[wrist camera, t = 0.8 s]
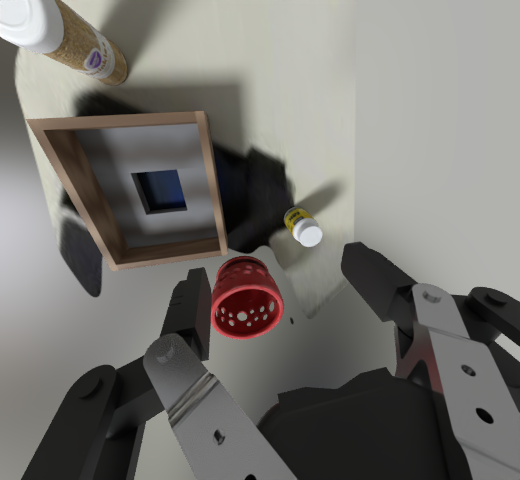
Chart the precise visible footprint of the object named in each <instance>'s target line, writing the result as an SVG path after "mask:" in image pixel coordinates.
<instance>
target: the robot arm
mask: <svg viewBox="0 0 520 480" xmlns="http://www.w3.org/2000/svg"><path fill="white" fill-rule="evenodd" d="M341 270H342V273H343V275H344V276H345V277H346V278H347V280H348V281H349V282H350V283H351V284H352V286H353V287H354V288H355V289H356V290H357V292H358V293H359V294H360V295H361V296H362V298H363V299H364V300H365V301H366V303H367V304H368V305H369V306H370V307H371V309H372V310H373V311H374V312H375V313H376V315H377V316H378V317H379V318H380V319H381V321H382V322H386V321H391V320H393V321H394V322H395V326H394V336H395V347H396V361H397V365H396V371H395V376H392V375H391V374H390V372H389V371H388V369H387V368H386V367H384V368H380V369H376V370H372V371H368V372H364V373H360V374H359V375H358V376H356V377H355V378H353V379H352V380H350V381H349V382H347V383H346V384H345V385H343V386H342V387H340V388H338V389H324V388H310V387H305V388H300V389H296V390H292V391H288V392H284V393H280V394H277V398H278V403H277V404H275V405H274V406H273V407H271V408H270V409H269V410H268V411H267V412H266V413H265V414H264V415H263V416H262V417H261V419H260V420H259V422H258V423H257V425H256V426H255V425H254V424H253V423H252V421H251V420H250V419H249V418H248V416H247V415H246V414H245V413H244V411H243V410H242V409H241V407H240V406H239V405H238V404H237V403H236V401H235V400H234V399H233V398H232V396H231V395H230V394H229V393H228V391H227V390H226V389H225V387H224V386H223V385H222V384H221V382H220V381H219V380H218V379H217V378H216V376H215V375H213V374H211V373H210V372H209V371H208V370H207V369H206V367H205V366H204V365H203V364H202V362H201V361H205V360H209V359H208V358H209V342H210V324H211V306H212V293H211V288H210V284H209V281H208V278H207V274H206V271H205V268H204V267H202V268H196V269H191V270H189V272H188V276H187V280H184V281H180V282H179V283H178V284H177V286H176V287H175V288H174V290H173V293H172V297H171V300H170V303H169V307H168V310H167V314H166V317H165V320H164V324H163V327H162V331H161V334H160V337H159V338H158V339H157V340H155V341H154V342H153V343H152V344H151V345H150V346H149V348H148V349H147V351H146V353H145V355H143V356H142V357H140V358H138V359H137V360H135V361H133V362H131V363H129V364H127V365H125V366H123V367H121V368H119V369H117V370H115V368H114V367H113V366H111V365H101V366H98V367H96V368H93V369H92V370H90V371H88V372H87V373H85V374H84V375H83V376H81V377H80V378H79V379H78V380H77V381H76V382H75V383H74V384H73V386H72V387H71V388H70V389H69V391H68V392H67V394H66V396H65V398H64V400H63V402H62V403H61V405H60V407H59V409H58V411H57V413H56V415H55V416H54V419H53V420H52V422H51V424H50V426H49V428H48V430H47V432H46V433H45V435H44V437H43V439H42V441H41V443H40V445H39V446H38V448H37V450H36V452H35V454H34V456H33V458H32V460H31V462H30V463H29V465H28V467H27V469H26V471H25V473H24V475H23V477H22V479H21V480H134V476H135V472H136V467H137V462H138V457H139V452H140V447H141V443H142V438H143V433H144V429H145V424H146V421H148V420H149V419H151V418H152V417H154V416H155V415H157V414H158V413H160V412H162V411H163V410H166V412H167V414H168V416H169V419H168V420H169V423H170V425H171V428H172V430H173V432H174V434H175V436H176V438H177V440H178V442H179V444H180V446H181V448H182V451H183V453H184V454H185V457H186V459H187V460H188V463H189V465H190V467H191V469H192V471H193V473H194V475H195V477H196V479H197V480H520V414H519V413H520V362H519V361H518V360H517V359H515V358H514V357H513V356H512V355H510V354H509V353H508V352H507V351H506V350H504V349H503V348H502V347H501V346H499V345H498V344H497V343H496V342H495V341H494V340H495V339H496V338H497V337H498V336H499V335H500V334H501V333H503V334H504V335H505V336H507V337H508V338H509V339H511V340H512V341H513V342H514V343H516V344H517V345H518V346H520V302H519V301H517V300H515V299H513V298H512V297H510V296H509V295H507V294H505V293H503V292H500V291H498V290H495V289H491V288H487V287H475V288H473V289H472V290H471V292H470V293H469V294H468V296H462V295H450V294H449V293H447V292H446V291H444V290H443V289H441V288H439V287H436V286H434V285H430V284H424V283H417V282H416V281H415V280H413V279H412V278H411V277H410V276H408V275H407V274H406V273H404V272H403V271H402V270H401V269H399V268H398V267H397V266H396V265H394V264H393V263H392V262H391V261H389V260H387V258H386V257H384V256H383V255H382V254H381V253H379V252H377V251H374V250H372V249H369V248H368V247H367V246H365V245H364V244H363V243H361V242H354V243H348V244H346V245H345V246H344V251H343V256H342V262H341Z"/></svg>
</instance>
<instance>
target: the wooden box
mask: <svg viewBox="0 0 520 480" xmlns="http://www.w3.org/2000/svg"><path fill="white" fill-rule="evenodd" d="M26 120H27V122H28V124H29V126H30V128H31V129H32V131H33V133H34V135H35V136H36V138H37V140H38V142H39V143H40V145H41V147H42V149H43V150H44V152H45V154H46V156H47V158H48V159H49V161H50V163H51V165H52V166H53V168H54V170H55V172H56V173H57V175H58V177H59V179H60V181H61V182H62V184H63V186H64V188H65V189H66V191H67V193H68V195H69V196H70V198H71V200H72V202H73V203H74V205H75V207H76V209H77V211H78V212H79V214H80V216H81V218H82V219H83V221H84V223H85V225H86V226H87V228H88V230H89V232H90V234H91V235H92V237H93V239H94V241H95V242H96V244H97V246H98V248H99V249H100V251H101V253H102V255H103V257H104V258H105V260H106V262H107V264H108V265H109V267H110V269H111V271H117V270H124V269H131V268H137V267H145V266H152V265H159V264H166V263H173V262H180V261H186V260H194V259H201V258H208V257H214V256H222V255H228V246H227V233H226V227H225V220H224V214H223V208H222V202H221V196H220V190H219V183H218V177H217V171H216V165H215V159H214V152H213V146H212V140H211V134H210V128H209V122H208V116H207V114H206V113H205V112H204V111H189V112H169V113H148V114H128V115H107V116H87V117H66V118H46V119H26ZM174 169H177V171H178V175H179V179H180V183H181V187H182V191H183V194H184V198H185V202H186V206H187V207H180V208H171V209H162V210H152V211H150V209H149V206H148V203H147V201H146V198H145V195H144V192H143V190H142V187H141V184H140V181H139V179H138V176H137V173H139V172H151V171H163V170H174Z"/></svg>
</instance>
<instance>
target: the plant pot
mask: <svg viewBox="0 0 520 480" xmlns="http://www.w3.org/2000/svg"><path fill="white" fill-rule="evenodd" d="M271 302H274V310H273V311H272V312H270V310H269V306H270V304H271ZM262 306H264V308H265V309H264V311H263V312H260V308H261V307H262ZM221 308H222V309H223V310H224V314H223V313H222V311H221ZM251 310H254V313H252V314H251V313H250V311H251ZM216 311H217V316H216ZM283 311H284V303H283V299H282V297H281V294H280V292H279V289H278V287H277V285H276V283H275V281H274V280H273V278H272V277H271V275H270V274H269V272H268V269H267V267H266V266H265V264H264V263H263V262H261V261H260V260H258V259H256V258H254V257H250V256H239V257H235V258H232V259H230V260H228V261H227V262H225V263H224V264H223V265H222V266H221V267H220V269H219V271H218V273H217V278H216V284H215V287H214V289H213V293H212V306H211V323H212V325H213V327H214V328H215V329H216V330H217V331H218V332H219V333H220V334H222V335H224V336H226V337H230V338H234V339H249V338H254V337H257V336H260V335H263V334H265V333H266V332H268V331H270V330H271V329H272V328H273V327H275V326H276V325H277V324H278V322H279V321H280V319H281V317H282V315H283ZM239 313H245V314H246V315H247V319H246V320H244V321H240V320H239V319H238V318H237V314H239ZM229 314H231V315H232V317H229ZM266 314H267V315H268V316H267V319H266V320H263V317H264V315H266ZM256 317H258V320H257V321H255V320H254V319H255V318H256ZM221 318H222V319H223V322H222V320H221ZM229 321H231V322H233V323H234V326H231V325H230V324H229ZM247 323H251V326H247Z"/></svg>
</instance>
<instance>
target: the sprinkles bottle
mask: <svg viewBox="0 0 520 480" xmlns="http://www.w3.org/2000/svg"><path fill="white" fill-rule="evenodd" d="M0 37H2V38H4V39H5V40H7V41H9V42H11V43H13V44H15V45H17V46H20V47H22V48H24V49H26V50H29V51H31V52H35V53H41V54H44V55H46V56H48V57H50V58H52V59H54V60H56V61H59V62H61V63H63V64H65V65H67V66H70V67H71V68H72V69H75V70H77V71H79V72H81V73H84V74H86V75H88V76H90V77H93V78H97V79H99V80H100V81H102V82H104V83H105V84H109V85H119V84H121V83H122V82H123V81H124V80H125V79H126V77H127V65H126V61H125V58H124V56H123V54H122V53H121V51H120V50H119V48H118V47H117V46H116V45H115V44H114V43H113V42H111V41H109V40H108V39H106V38H105V37H104V36H103V35H102V34H101V33H100V32H99V31H97V30H96V29H95V28H94V27H93V26H91V25H90V24H89V23H88V22H87V21H85V20H84V19H83V18H82V17H81V16H79V15H78V14H77V13H76V12H75V11H73V10H72V9H71V8H70V7H69V6H67V5H66V4H65V3H64V2H62V1H61V0H0Z"/></svg>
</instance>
